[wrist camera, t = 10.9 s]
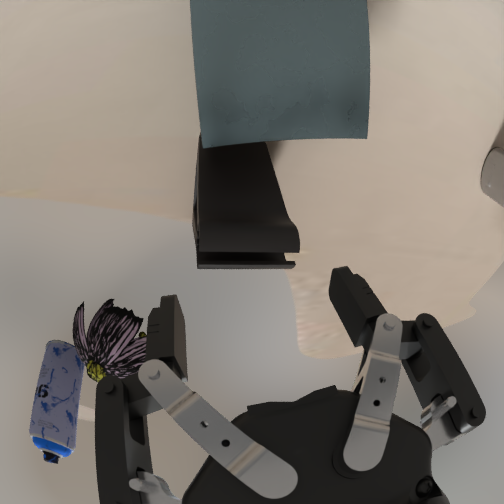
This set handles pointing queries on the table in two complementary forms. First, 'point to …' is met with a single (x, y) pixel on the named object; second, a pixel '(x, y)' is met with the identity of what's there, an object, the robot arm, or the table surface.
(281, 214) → the triangular clip stand
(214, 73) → the trolley
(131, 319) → the decorative flower
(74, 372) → the aerosol can
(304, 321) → the table surface
